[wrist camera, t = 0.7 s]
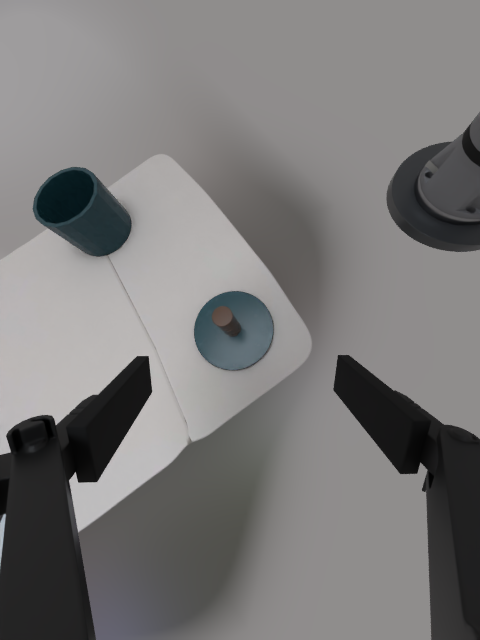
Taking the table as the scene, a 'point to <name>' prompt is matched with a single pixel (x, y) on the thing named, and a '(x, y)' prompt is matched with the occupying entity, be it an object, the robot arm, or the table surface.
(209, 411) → the table surface
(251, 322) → the lid
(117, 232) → the pot
